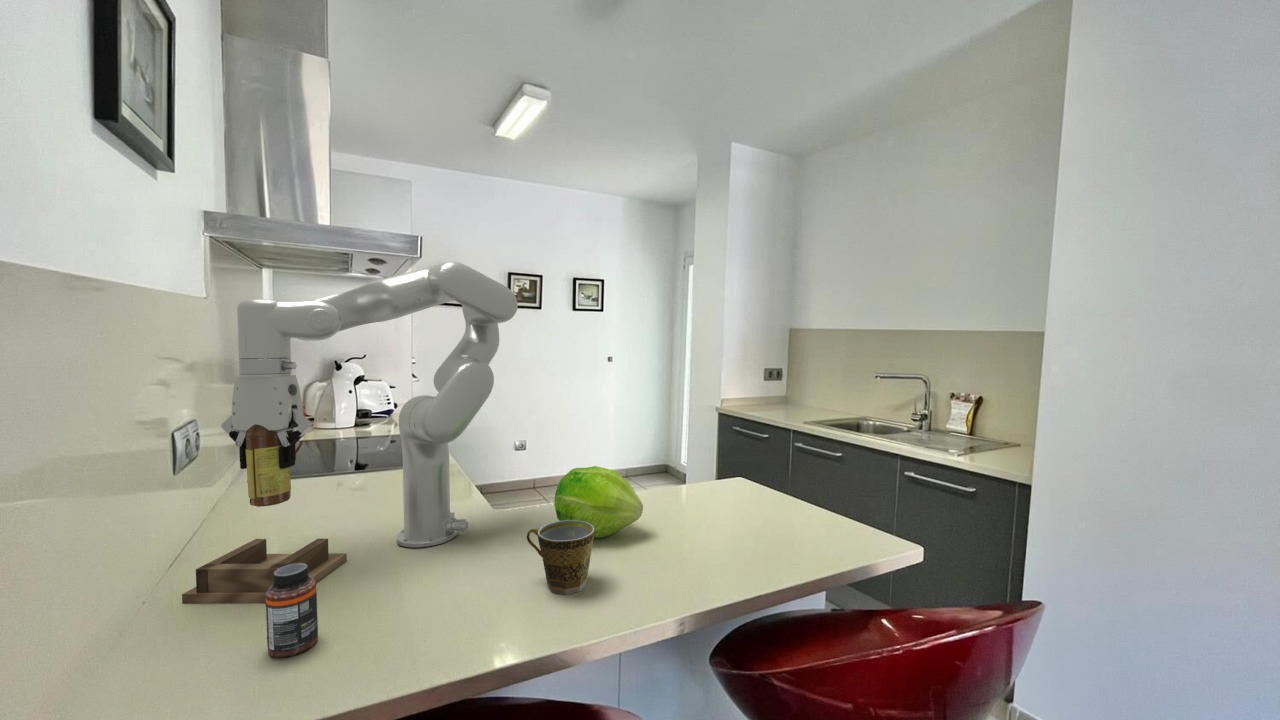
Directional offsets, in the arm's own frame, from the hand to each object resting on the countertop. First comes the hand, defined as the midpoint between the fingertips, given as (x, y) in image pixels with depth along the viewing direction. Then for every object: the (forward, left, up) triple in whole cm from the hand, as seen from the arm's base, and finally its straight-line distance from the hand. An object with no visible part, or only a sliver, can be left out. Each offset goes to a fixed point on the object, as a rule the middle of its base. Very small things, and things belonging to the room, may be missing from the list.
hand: (268, 466), depth 90 cm
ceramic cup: (-53, +2, -21) cm, 57 cm away
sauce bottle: (0, 0, -7) cm, 7 cm away
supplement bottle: (-18, +20, -21) cm, 34 cm away
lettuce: (-58, -21, -21) cm, 65 cm away
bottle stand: (0, 0, -21) cm, 21 cm away
